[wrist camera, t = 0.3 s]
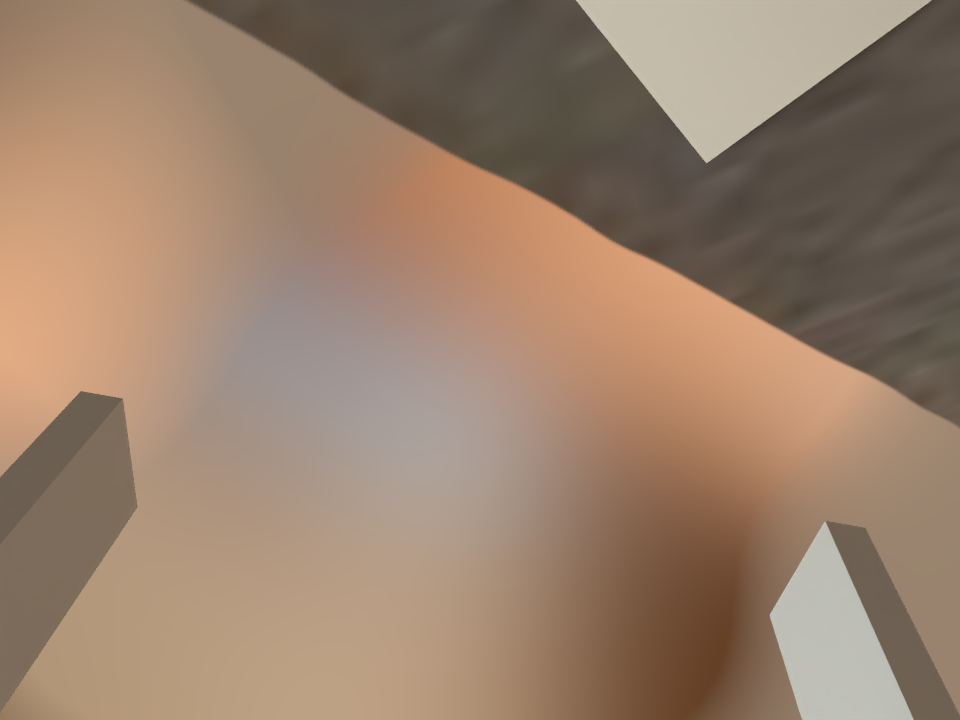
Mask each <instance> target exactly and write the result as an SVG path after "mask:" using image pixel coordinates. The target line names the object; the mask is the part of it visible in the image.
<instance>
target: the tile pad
mask: <svg viewBox="0 0 960 720" xmlns="http://www.w3.org/2000/svg"><path fill="white" fill-rule="evenodd" d="M576 1H577V2H578V3H579V5H580V6H581V7H582V8H583V10H584V11H585V12H586V13H587V15H588V16H589V17H590V18H591V20H592V21H593V22H594V23H595V25H596V26H597V27H598V28H599V30H600V31H601V32H602V33H603V35H604V36H605V37H606V38H607V40H608V41H609V42H610V43H611V45H612V46H613V47H614V48H615V50H616V51H617V52H618V53H619V55H620V56H621V57H622V58H623V60H624V61H625V62H626V63H627V65H628V66H629V67H630V68H631V70H632V71H633V72H634V73H635V75H636V76H637V77H638V78H639V80H640V81H641V82H642V83H643V85H644V86H645V87H646V88H647V90H648V91H649V92H650V93H651V95H652V96H653V97H654V98H655V100H656V101H657V102H658V103H659V105H660V106H661V107H662V108H663V110H664V111H665V112H666V113H667V115H668V116H669V117H670V118H671V120H672V121H673V122H674V123H675V125H676V126H677V127H678V128H679V130H680V131H681V132H682V133H683V135H684V136H685V137H686V138H687V140H688V141H689V142H690V143H691V145H692V146H693V147H694V148H695V150H696V151H697V152H698V153H699V155H700V156H701V157H702V158H703V160H704V161H705V162H706V163H708V162H709V161H710V160H712V159H713V158H714V157H716V156H717V155H719V154H720V153H721V152H723V151H724V150H725V149H727V148H728V147H730V146H731V145H732V144H734V143H735V142H737V141H738V140H739V139H741V138H742V137H743V136H745V135H746V134H748V133H749V132H750V131H752V130H753V129H755V128H756V127H757V126H759V125H760V124H761V123H763V122H764V121H766V120H767V119H768V118H770V117H771V116H772V115H774V114H775V113H777V112H778V111H779V110H781V109H782V108H784V107H785V106H786V105H788V104H789V103H790V102H792V101H793V100H795V99H796V98H797V97H799V96H800V95H802V94H803V93H804V92H806V91H807V90H808V89H810V88H811V87H813V86H814V85H815V84H817V83H818V82H819V81H821V80H822V79H824V78H825V77H826V76H828V75H829V74H831V73H832V72H833V71H835V70H836V69H837V68H839V67H840V66H842V65H843V64H844V63H846V62H847V61H848V60H850V59H851V58H853V57H854V56H855V55H857V54H858V53H860V52H861V51H862V50H864V49H865V48H866V47H868V46H869V45H871V44H872V43H873V42H875V41H876V40H878V39H879V38H880V37H882V36H883V35H884V34H886V33H887V32H889V31H890V30H891V29H893V28H894V27H895V26H897V25H898V24H900V23H901V22H902V21H904V20H905V19H907V18H908V17H909V16H911V15H912V14H913V13H915V12H916V11H918V10H919V9H920V8H922V7H923V6H925V5H926V4H927V3H929V2H930V1H931V0H576Z"/></svg>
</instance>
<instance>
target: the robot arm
mask: <svg viewBox="0 0 960 720" xmlns="http://www.w3.org/2000/svg"><path fill="white" fill-rule="evenodd" d="M136 508H137V500H136V493H135V486H134V478H133V471H132V463H131V456H130V449H129V441H128V434H127V427H126V419H125V412H124V404H123V399H121V398H116V397H111V396H105V395H99V394H93V393H87V392H82V391H81V392H80V393H79V394H78V395H77V396H76V397H75V398H74V399H73V400H72V401H71V402H70V403H69V405H68V406H67V407H66V408H65V409H64V410H63V411H62V412H61V413H60V414H59V415H58V416H57V417H56V419H55V420H54V421H53V422H52V423H51V424H50V425H49V426H48V427H47V428H46V429H45V430H44V431H43V432H42V433H41V434H40V436H39V437H38V438H37V439H36V440H35V441H34V442H33V443H32V444H31V445H30V446H29V447H28V448H27V449H26V451H25V452H24V453H23V454H22V455H21V456H20V457H19V458H18V459H17V460H16V461H15V462H14V463H13V464H12V465H11V467H10V468H9V469H8V470H7V471H6V472H5V473H4V474H3V475H2V476H1V477H0V712H1V711H2V709H3V707H4V706H5V705H6V703H7V702H8V700H9V699H10V697H11V696H12V694H13V693H14V691H15V690H16V688H17V687H18V685H19V684H20V682H21V681H22V679H23V678H24V676H25V675H26V673H27V672H28V670H29V669H30V667H31V666H32V664H33V663H34V661H35V660H36V658H37V657H38V655H39V654H40V652H41V651H42V649H43V648H44V646H45V645H46V643H47V642H48V640H49V639H50V637H51V636H52V634H53V633H54V631H55V630H56V628H57V627H58V625H59V624H60V622H61V621H62V619H63V618H64V616H65V615H66V613H67V612H68V610H69V609H70V607H71V606H72V604H73V603H74V601H75V600H76V598H77V597H78V595H79V594H80V592H81V591H82V589H83V588H84V586H85V585H86V583H87V582H88V580H89V579H90V577H91V576H92V574H93V573H94V571H95V570H96V568H97V567H98V565H99V564H100V562H101V561H102V559H103V558H104V556H105V555H106V553H107V552H108V550H109V549H110V547H111V546H112V544H113V543H114V541H115V540H116V538H117V537H118V535H119V534H120V532H121V531H122V529H123V528H124V526H125V525H126V523H127V522H128V520H129V519H130V517H131V516H132V514H133V513H134V511H135V510H136ZM770 618H771V621H772V624H773V627H774V631H775V634H776V637H777V640H778V644H779V647H780V650H781V653H782V656H783V659H784V663H785V666H786V669H787V673H788V676H789V679H790V682H791V685H792V689H793V692H794V695H795V698H796V702H797V705H798V708H799V711H800V714H801V718H802V720H960V715H959V713H958V711H957V709H956V707H955V705H954V703H953V701H952V699H951V697H950V695H949V693H948V691H947V689H946V688H945V685H944V683H943V681H942V679H941V677H940V675H939V673H938V672H937V669H936V667H935V666H934V664H933V661H932V659H931V658H930V656H929V654H928V652H927V650H926V648H925V646H924V644H923V642H922V640H921V638H920V636H919V634H918V632H917V630H916V628H915V626H914V624H913V622H912V620H911V618H910V616H909V614H908V612H907V610H906V608H905V606H904V604H903V602H902V600H901V598H900V596H899V594H898V592H897V590H896V588H895V586H894V584H893V582H892V580H891V578H890V576H889V574H888V572H887V570H886V568H885V566H884V564H883V562H882V560H881V558H880V556H879V554H878V553H877V550H876V548H875V546H874V544H873V542H872V541H871V538H870V536H869V535H868V533H867V531H866V529H865V528H863V527H857V526H851V525H845V524H840V523H834V522H828V521H825V522H824V524H823V525H822V527H821V529H820V531H819V532H818V534H817V536H816V538H815V539H814V541H813V542H812V544H811V546H810V548H809V549H808V551H807V553H806V554H805V556H804V558H803V560H802V561H801V563H800V565H799V566H798V568H797V570H796V571H795V573H794V575H793V576H792V578H791V580H790V582H789V583H788V585H787V587H786V588H785V590H784V592H783V594H782V595H781V597H780V598H779V600H778V602H777V604H776V605H775V607H774V609H773V611H772V612H771V614H770Z"/></svg>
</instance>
